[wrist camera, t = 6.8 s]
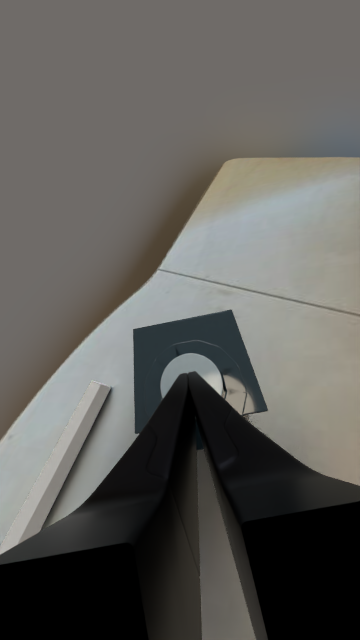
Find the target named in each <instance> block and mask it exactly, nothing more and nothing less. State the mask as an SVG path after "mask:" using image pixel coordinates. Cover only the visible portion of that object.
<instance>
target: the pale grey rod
mask: <svg viewBox="0 0 360 640" xmlns="http://www.w3.org/2000/svg"><path fill="white" fill-rule="evenodd" d="M110 389H111V387H110V386H107V385H105V384H103V383H100V382H97V381H94V380H92V381H91V383H90V384H89V386H88V388H87V390H86V392H85V393H84V395H83V397H82V399H81V401H80V402H79V404H78V406H77V408H76V410H75V412H74V413H73V415H72V417H71V419H70V421H69V422H68V424H67V426H66V428H65V430H64V431H63V433H62V435H61V437H60V439H59V440H58V442H57V444H56V446H55V448H54V450H53V451H52V453H51V455H50V457H49V459H48V460H47V462H46V464H45V466H44V468H43V469H42V471H41V473H40V475H39V477H38V479H37V480H36V482H35V484H34V486H33V488H32V489H31V491H30V493H29V495H28V497H27V498H26V500H25V502H24V504H23V506H22V508H21V509H20V511H19V513H18V515H17V517H16V518H15V520H14V522H13V524H12V526H11V527H10V529H9V531H8V533H7V535H6V537H5V538H4V540H3V542H2V544H1V546H0V554H2V553H4V552H6V551H7V550H9V549H11V548H13V547H14V546H16V545H18V544H19V543H21V542H23V541H25V540H26V539H28V538H30V537H32V536H33V535H35V534H37V533H39V532H40V530H41V528H42V526H43V524H44V522H45V519H46V517H47V515H48V513H49V511H50V509H51V507H52V505H53V503H54V501H55V499H56V497H57V495H58V493H59V491H60V489H61V487H62V485H63V483H64V481H65V479H66V477H67V475H68V473H69V471H70V469H71V467H72V465H73V463H74V461H75V459H76V457H77V455H78V453H79V451H80V449H81V447H82V445H83V443H84V441H85V439H86V437H87V435H88V433H89V431H90V429H91V427H92V425H93V423H94V421H95V419H96V417H97V415H98V413H99V411H100V409H101V407H102V405H103V403H104V401H105V399H106V397H107V395H108V393H109V391H110Z"/></svg>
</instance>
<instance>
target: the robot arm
mask: <svg viewBox="0 0 360 640" xmlns="http://www.w3.org/2000/svg"><path fill="white" fill-rule="evenodd" d="M195 417H196V419H195ZM196 422H197V426H198V429H199V433H200V437H201V440H202V444H203V448H204V451H205V455H206V459H207V462H208V466H209V469H210V473H211V477H212V480H213V484H214V488H215V491H216V495H217V499H218V502H219V506H220V510H221V513H222V517H223V521H224V524H225V528H226V532H227V535H228V539H229V542H230V546H231V550H232V553H233V557H234V561H235V564H236V568H237V571H238V575H239V579H240V583H241V586H242V590H243V594H244V597H245V601H246V605H247V608H248V612H249V616H250V619H251V623H252V626H253V630H254V634H255V637H256V640H360V486H358V485H355V484H352V483H348V482H345V481H342V480H338V479H335V478H332V477H328V476H325V475H323V474H320V473H318V472H316V471H314V470H312V469H311V468H309V467H307V466H306V465H304V464H303V463H301V462H300V461H298V460H297V459H296V458H294V457H293V456H292V455H290V454H289V453H288V452H286V451H285V450H284V449H283V448H281V447H280V446H279V445H277V444H276V443H275V442H273V441H272V440H271V439H270V438H268V437H267V436H266V435H264V434H263V433H262V432H260V431H259V430H258V429H257V428H255V427H254V426H253V425H252V424H251V423H249V422H248V421H247V420H246V419H245V418H244V417H243V416H242V415H240V414H239V413H238V412H237V411H236V410H235V409H234V408H233V407H232V406H231V405H230V404H229V403H228V402H227V401H226V400H225V399H224V398H223V397H222V396H221V395H220V394H219V393H218V392H217V391H216V390H215V389H214V388H213V387H212V386H211V385H210V384H208V383H207V382H206V381H205V380H204V379H203V378H202V377H201V376H200V375H199V374H198V373H197V372H196V371H192V372H188V373H182V374H179V376H178V377H177V379H176V380H175V382H174V383H173V385H172V386H171V388H170V389H169V391H168V392H167V394H166V395H165V397H164V398H163V400H162V401H161V403H160V404H159V406H158V407H157V409H156V410H155V412H154V413H153V415H152V416H151V418H150V419H149V421H148V423H147V424H146V425H145V427H144V428H143V430H142V431H141V432H140V434H139V435H138V437H137V438H136V440H135V441H134V442H133V444H132V445H131V446H130V447H129V449H128V450H127V451H126V453H125V454H124V455H123V456H122V458H121V459H120V460H119V461H118V463H117V464H116V465H115V466H114V468H113V469H112V470H111V471H110V473H109V474H108V475H107V476H106V478H105V479H104V480H103V481H102V483H101V484H100V485H99V486H98V487H97V489H96V490H95V491H94V492H93V493H92V495H91V496H90V497H89V498H88V499H87V500H86V501H85V502H84V503H83V504H82V505H81V506H80V507H79V508H77V509H76V510H75V511H74V512H72V513H71V514H69V515H68V516H66V517H65V518H63V519H61V520H59V521H58V522H56V523H54V524H52V525H51V526H49V527H47V528H45V529H44V530H42V531H40V532H39V533H37V534H35V535H33V536H32V537H30V538H28V539H26V540H25V541H23V542H21V543H19V544H18V545H16V546H14V547H13V548H11V549H9V550H7V551H6V552H4V553H2V554H0V640H202V622H201V586H200V553H199V517H198V481H197V445H196Z"/></svg>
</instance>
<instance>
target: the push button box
mask: <svg viewBox="0 0 360 640" xmlns="http://www.w3.org/2000/svg"><path fill="white" fill-rule="evenodd" d="M133 342H134V401H135V434H138V433H140V432H141V431H142V430H143V428H144V427H145V425H146V424H147V423H148V421H149V419H150V418H151V416H152V415H153V413H154V412H155V410H156V409H157V407H158V406H159V404H160V403H161V401H162V400H163V398H162V395H161V388H160V384H161V378H162V374H163V372H164V370H165V368H166V367H167V365H168V364H169V363H170V362H171V361H172V360H173V359H175V358H176V357H178V356H180V355H183V354H188V353H194V354H199V355H202V356H205V357H206V358H208V359H209V360H211V361H212V362H213V363H214V364H215V365H216V367H217V368H218V370H219V372H220V374H221V377H222V381H223V393H222V397H223V398H224V399H225V400H226V401H227V402H228V403H229V404H230V405H231V406H232V407H233V408H234V409H235V410H236V411H237V412H238V413H239V414H240V415H242V416H243V415H248V414H254V413H259V412H265V411H268V409H267V406H266V403H265V400H264V398H263V395H262V392H261V389H260V387H259V384H258V381H257V378H256V376H255V373H254V370H253V367H252V365H251V362H250V359H249V356H248V354H247V351H246V348H245V345H244V342H243V340H242V337H241V334H240V331H239V329H238V326H237V323H236V320H235V318H234V315H233V312H232V310H227V311H222V312H217V313H212V314H207V315H202V316H197V317H192V318H187V319H182V320H177V321H172V322H167V323H162V324H157V325H152V326H147V327H142V328H137V329H133ZM196 445H197V450H202V449H204V448H203V444H202V440H201V437H200V433H199V429H198V426H197V422H196Z"/></svg>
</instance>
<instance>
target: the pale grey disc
mask: <svg viewBox="0 0 360 640" xmlns="http://www.w3.org/2000/svg"><path fill="white" fill-rule="evenodd" d="M192 371H196V372H197V373H198V374H199V375H200V376H201V377H202V378H203V379H204V380H205V381H206V382H207V383H208V384H210V385H211V386H212V387H213V388H214V389H215V390H216V391H217V392H218V393H219V394H220V395H221V396H222V393H223V381H222V377H221V374H220V372H219V370H218V368H217V367H216V365H215V364H214V363H213V362H212V361H211V360H209V359H208V358H206V357H205V356H202V355H199V354H194V353H188V354H183V355H180V356H178V357H176V358H175V359H173V360H172V361H171V362H170V363H169V364H168V365H167V367H166V368H165V370H164V372H163V374H162V378H161V384H160V388H161V395H162V398H164V397H165V395H166V394H167V392H168V391H169V389H170V388H171V386H172V385H173V383H174V382H175V380H176V379H177V377H178V376H179V374H182V373H188V372H192ZM195 419H196V417H195Z"/></svg>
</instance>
